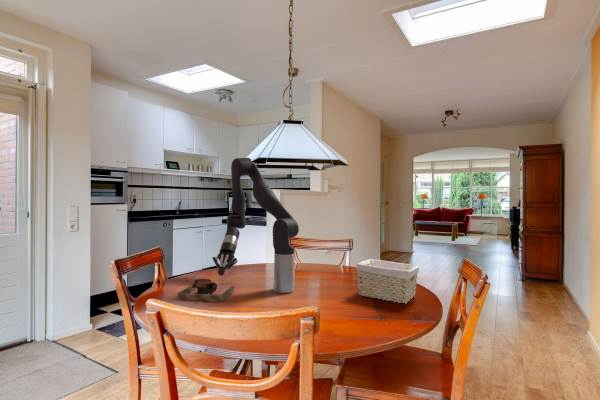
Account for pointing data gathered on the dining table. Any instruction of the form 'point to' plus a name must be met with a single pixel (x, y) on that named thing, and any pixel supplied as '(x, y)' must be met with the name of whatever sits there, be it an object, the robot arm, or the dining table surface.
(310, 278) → the dining table surface
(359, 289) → the storage basket
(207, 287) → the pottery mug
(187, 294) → the wooden corral
